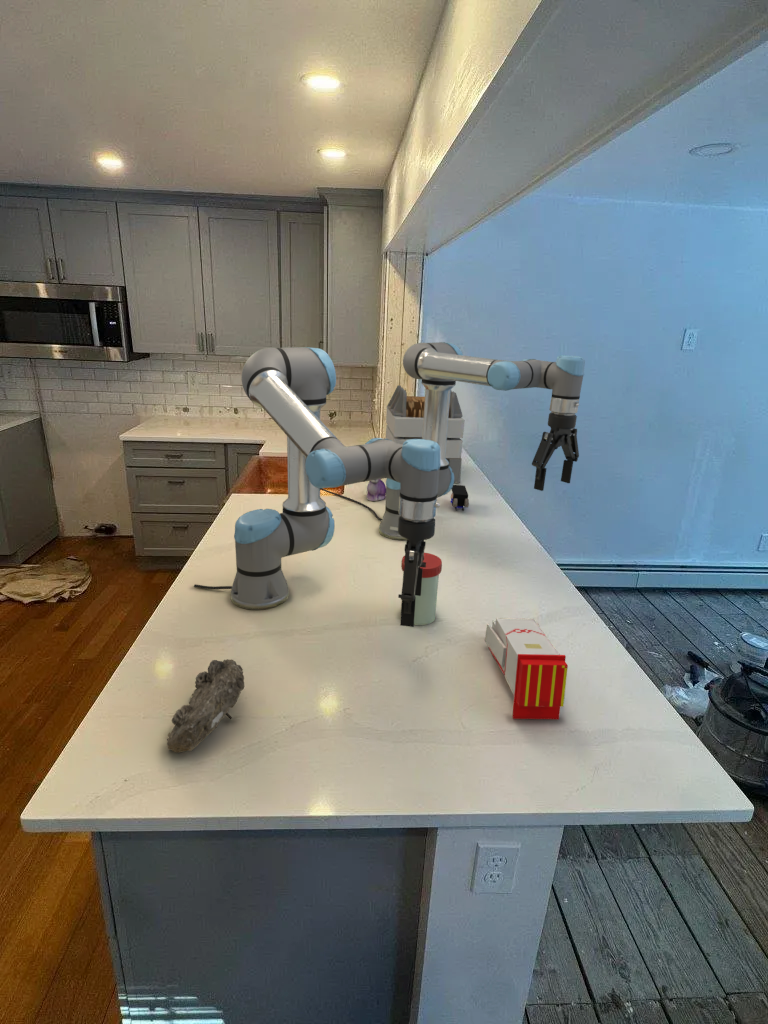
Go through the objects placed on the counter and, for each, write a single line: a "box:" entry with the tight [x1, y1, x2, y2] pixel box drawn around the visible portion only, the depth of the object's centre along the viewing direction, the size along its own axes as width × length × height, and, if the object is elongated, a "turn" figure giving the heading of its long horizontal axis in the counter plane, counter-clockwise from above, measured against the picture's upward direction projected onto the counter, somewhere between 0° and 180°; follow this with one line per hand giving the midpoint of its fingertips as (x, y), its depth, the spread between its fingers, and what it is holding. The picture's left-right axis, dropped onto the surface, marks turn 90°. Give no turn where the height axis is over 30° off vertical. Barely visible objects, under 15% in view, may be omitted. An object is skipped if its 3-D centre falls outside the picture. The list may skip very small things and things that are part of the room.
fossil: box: [166, 658, 245, 754], centre depth 106 cm, size 22×10×15 cm
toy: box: [484, 617, 569, 720], centre depth 122 cm, size 12×13×30 cm
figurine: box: [365, 479, 386, 502], centre depth 233 cm, size 9×10×15 cm
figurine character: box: [449, 484, 470, 512], centre depth 229 cm, size 7×8×15 cm
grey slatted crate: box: [384, 384, 465, 484], centre depth 268 cm, size 34×33×41 cm
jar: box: [400, 571, 440, 626], centre depth 144 cm, size 9×9×16 cm
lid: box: [400, 552, 443, 578], centre depth 142 cm, size 10×10×2 cm
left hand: (411, 609), depth 122 cm, fingers open, 13 cm apart
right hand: (552, 485), depth 166 cm, fingers open, 13 cm apart
